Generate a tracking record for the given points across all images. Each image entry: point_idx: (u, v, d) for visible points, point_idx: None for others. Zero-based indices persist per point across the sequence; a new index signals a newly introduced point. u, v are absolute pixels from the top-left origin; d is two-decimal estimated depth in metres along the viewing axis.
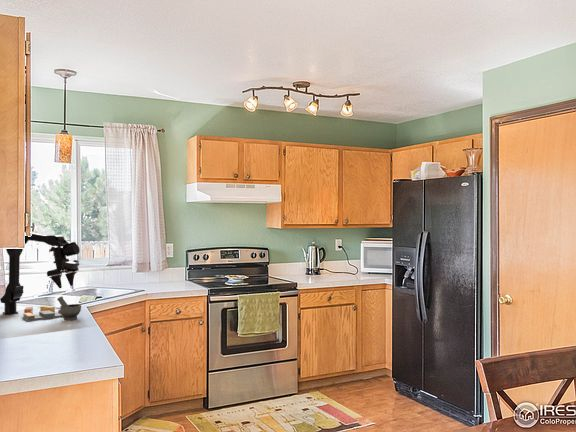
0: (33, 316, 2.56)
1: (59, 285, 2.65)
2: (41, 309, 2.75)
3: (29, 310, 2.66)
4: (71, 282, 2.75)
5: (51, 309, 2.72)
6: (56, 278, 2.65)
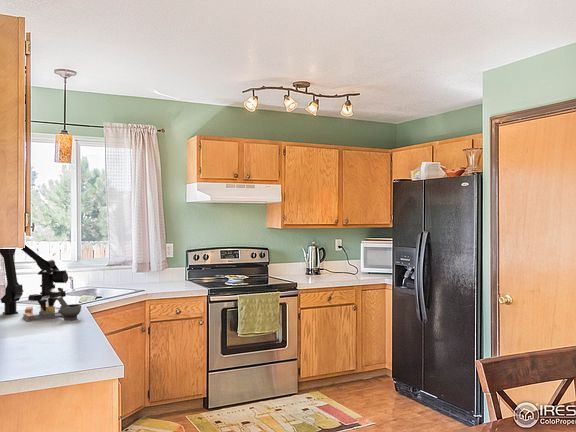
0: (33, 316, 2.56)
1: (43, 309, 2.72)
2: (41, 309, 2.75)
3: (30, 310, 2.67)
4: None
5: (51, 309, 2.72)
6: (42, 302, 2.72)
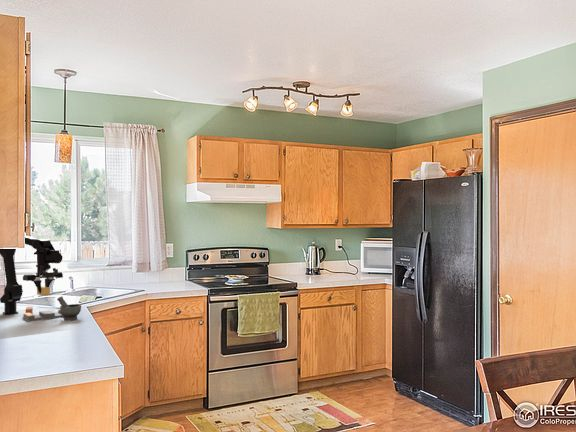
0: (33, 316, 2.56)
1: (39, 290, 2.67)
2: (37, 289, 2.69)
3: (30, 310, 2.67)
4: None
5: (46, 289, 2.66)
6: None
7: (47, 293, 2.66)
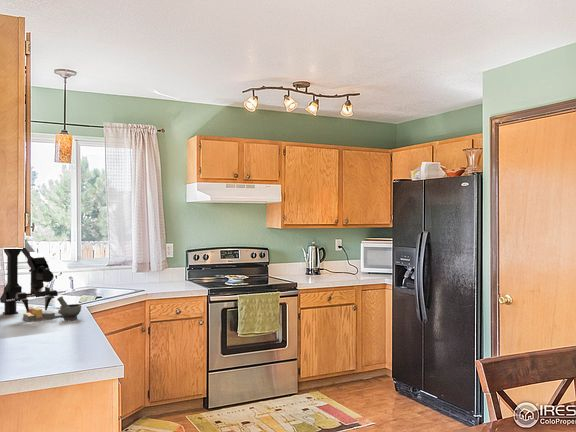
0: (33, 316, 2.56)
1: (26, 309, 2.58)
2: (32, 311, 2.63)
3: (31, 310, 2.67)
4: (45, 307, 2.64)
5: (38, 312, 2.58)
6: None
7: (39, 315, 2.58)
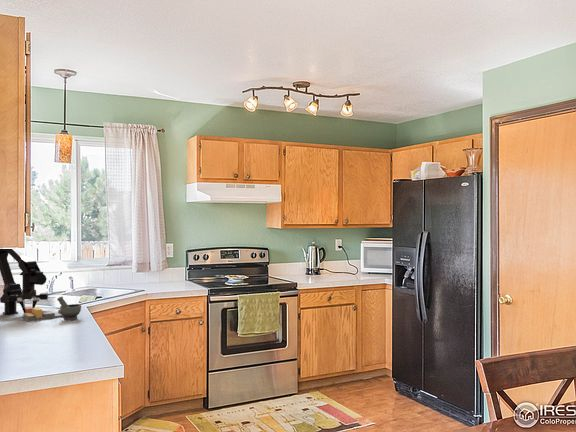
0: (33, 316, 2.56)
1: (23, 310, 2.69)
2: (32, 311, 2.63)
3: (30, 309, 2.67)
4: None
5: (38, 312, 2.58)
6: None
7: (39, 315, 2.58)
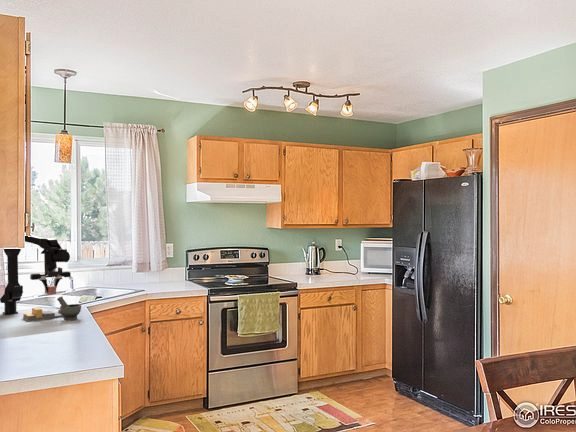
0: (33, 316, 2.56)
1: (46, 289, 2.66)
2: (32, 311, 2.63)
3: (55, 287, 2.66)
4: None
5: (38, 312, 2.58)
6: None
7: (39, 315, 2.58)
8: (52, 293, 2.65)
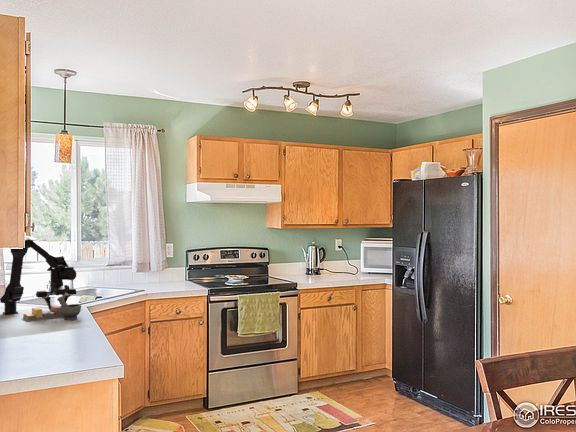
0: (33, 316, 2.56)
1: (48, 307, 2.65)
2: (32, 311, 2.63)
3: None
4: None
5: (38, 312, 2.58)
6: (47, 299, 2.65)
7: (39, 315, 2.58)
8: (58, 314, 2.65)
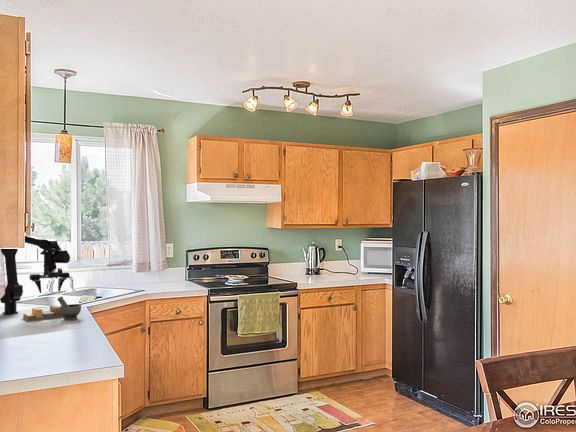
0: (33, 316, 2.56)
1: (39, 290, 2.68)
2: (32, 311, 2.63)
3: None
4: (59, 288, 2.74)
5: (38, 312, 2.58)
6: None
7: (39, 315, 2.58)
8: (58, 314, 2.65)
